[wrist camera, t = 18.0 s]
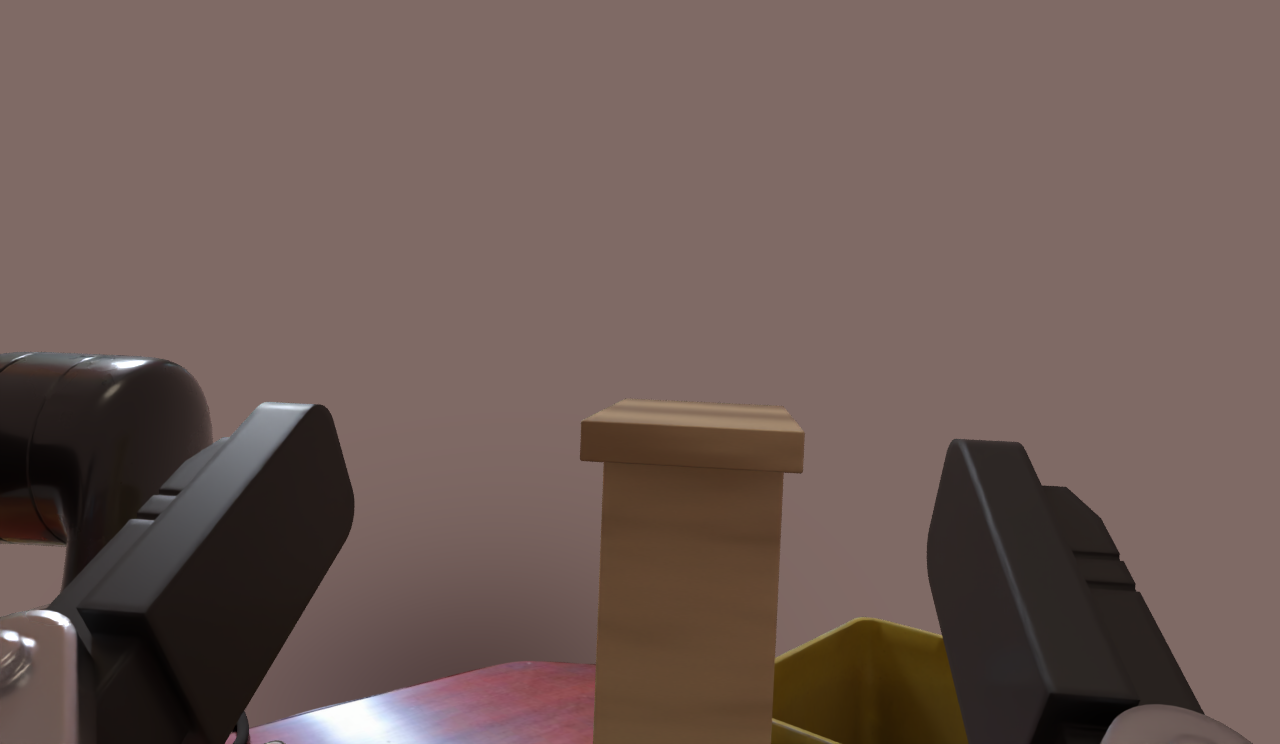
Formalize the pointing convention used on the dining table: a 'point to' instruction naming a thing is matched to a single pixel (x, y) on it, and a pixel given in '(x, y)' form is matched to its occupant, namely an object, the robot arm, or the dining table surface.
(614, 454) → the stand
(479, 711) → the dining table surface
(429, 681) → the dining table surface
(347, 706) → the dining table surface
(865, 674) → the flower pot
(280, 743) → the smartphone
